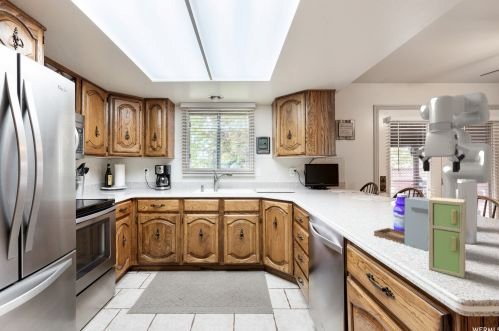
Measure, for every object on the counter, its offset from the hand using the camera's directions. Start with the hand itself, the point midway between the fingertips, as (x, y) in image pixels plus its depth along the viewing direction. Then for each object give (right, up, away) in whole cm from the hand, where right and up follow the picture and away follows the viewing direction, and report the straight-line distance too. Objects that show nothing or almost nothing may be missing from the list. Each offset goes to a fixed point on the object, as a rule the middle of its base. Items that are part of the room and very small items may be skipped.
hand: (440, 171), depth 93 cm
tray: (-14, -28, +7) cm, 32 cm away
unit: (-9, -28, -5) cm, 30 cm away
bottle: (-5, -28, +15) cm, 33 cm away
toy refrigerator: (-18, -29, -24) cm, 41 cm away
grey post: (+12, -28, +2) cm, 31 cm away
